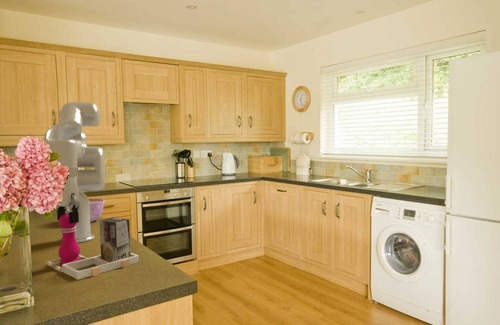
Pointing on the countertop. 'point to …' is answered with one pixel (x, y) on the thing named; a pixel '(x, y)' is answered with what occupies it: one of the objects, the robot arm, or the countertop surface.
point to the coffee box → (115, 239)
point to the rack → (100, 268)
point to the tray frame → (52, 263)
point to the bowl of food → (96, 208)
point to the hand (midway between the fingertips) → (67, 221)
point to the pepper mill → (68, 241)
